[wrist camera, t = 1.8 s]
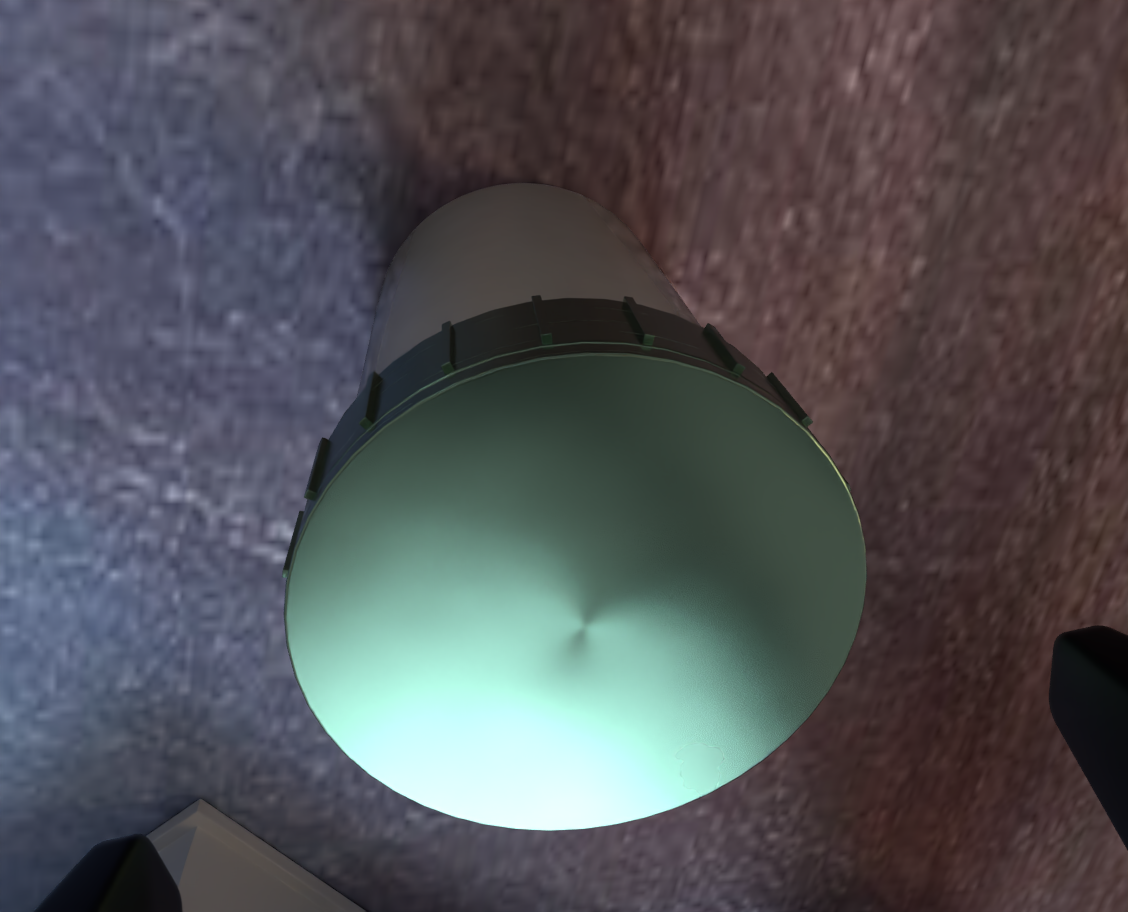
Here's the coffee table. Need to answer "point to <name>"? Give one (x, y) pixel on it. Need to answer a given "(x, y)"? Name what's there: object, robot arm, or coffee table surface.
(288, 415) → the coffee table surface
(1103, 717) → the robot arm
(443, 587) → the jar lid
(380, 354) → the jar
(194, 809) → the book
